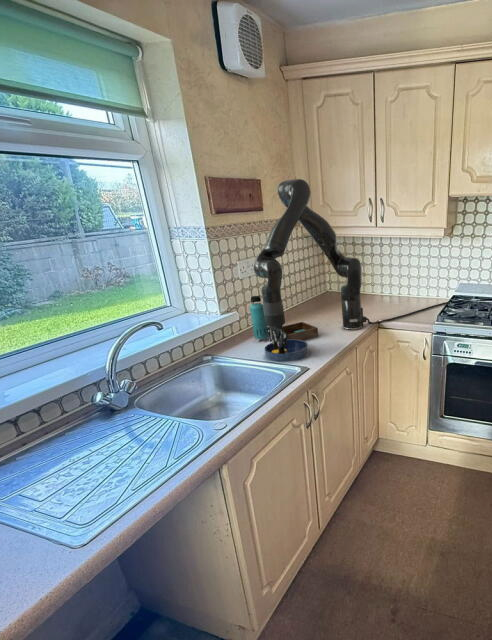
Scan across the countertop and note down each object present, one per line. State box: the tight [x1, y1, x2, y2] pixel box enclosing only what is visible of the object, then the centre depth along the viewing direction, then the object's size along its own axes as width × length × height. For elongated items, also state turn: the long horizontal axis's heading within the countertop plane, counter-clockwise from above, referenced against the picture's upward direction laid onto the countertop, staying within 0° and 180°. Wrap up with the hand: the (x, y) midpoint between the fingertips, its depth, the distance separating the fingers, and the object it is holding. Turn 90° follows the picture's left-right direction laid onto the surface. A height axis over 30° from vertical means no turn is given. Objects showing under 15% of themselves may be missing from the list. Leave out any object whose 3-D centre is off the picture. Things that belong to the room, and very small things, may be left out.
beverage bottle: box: [249, 295, 269, 340], centre depth 180 cm, size 6×7×20 cm
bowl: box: [264, 339, 310, 363], centre depth 166 cm, size 17×17×4 cm
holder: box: [279, 321, 319, 341], centre depth 186 cm, size 16×14×5 cm
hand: (279, 353), depth 164 cm, fingers closed on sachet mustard, 3 cm apart
